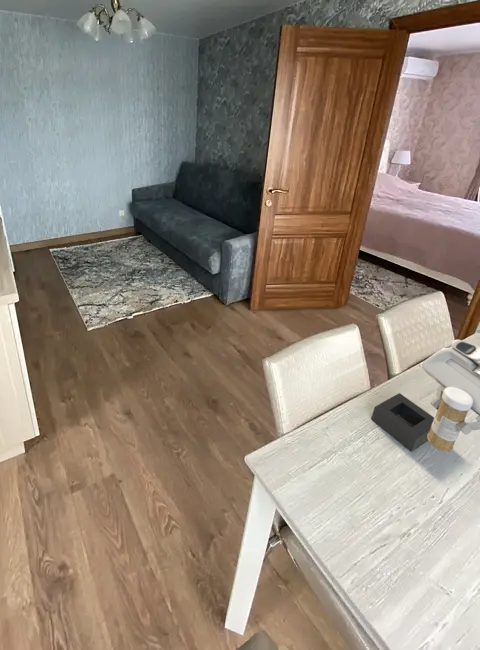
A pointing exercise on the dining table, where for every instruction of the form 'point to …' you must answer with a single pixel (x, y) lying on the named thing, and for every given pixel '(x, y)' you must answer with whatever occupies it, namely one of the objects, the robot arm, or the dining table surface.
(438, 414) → the sprinkles bottle
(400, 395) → the socket block
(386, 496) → the dining table surface
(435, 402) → the robot arm
